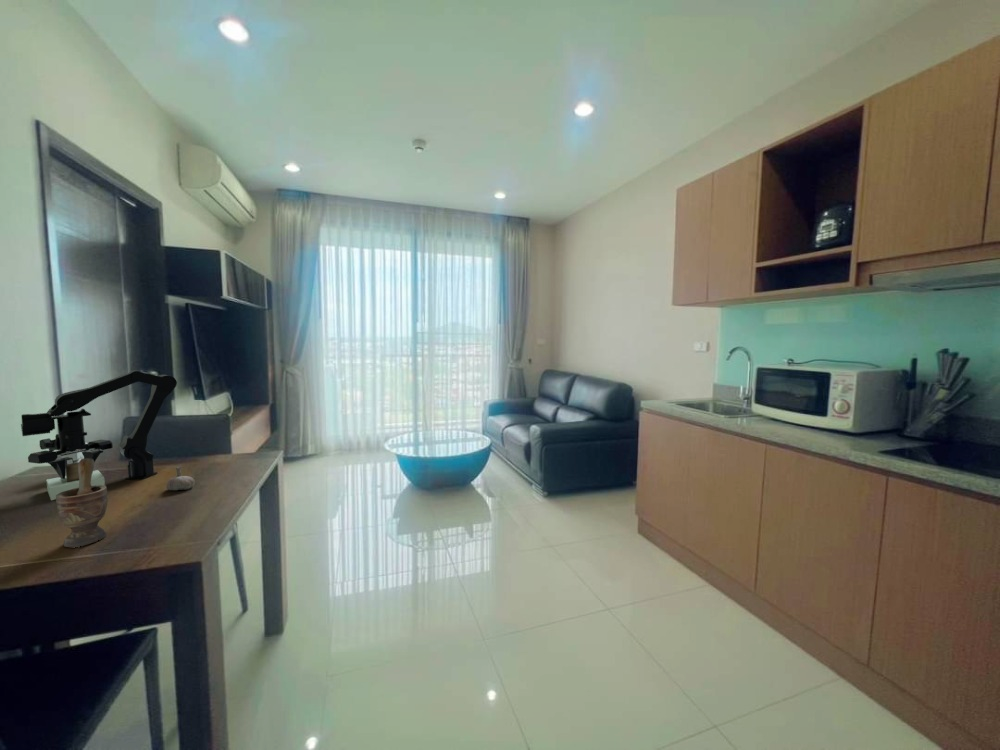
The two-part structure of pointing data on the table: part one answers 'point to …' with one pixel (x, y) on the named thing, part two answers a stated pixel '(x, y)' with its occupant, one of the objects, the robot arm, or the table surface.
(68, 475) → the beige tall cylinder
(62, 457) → the ink box
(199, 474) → the table surface
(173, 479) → the garlic bulb
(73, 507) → the mortar and pestle
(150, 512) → the table surface
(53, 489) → the socket block
